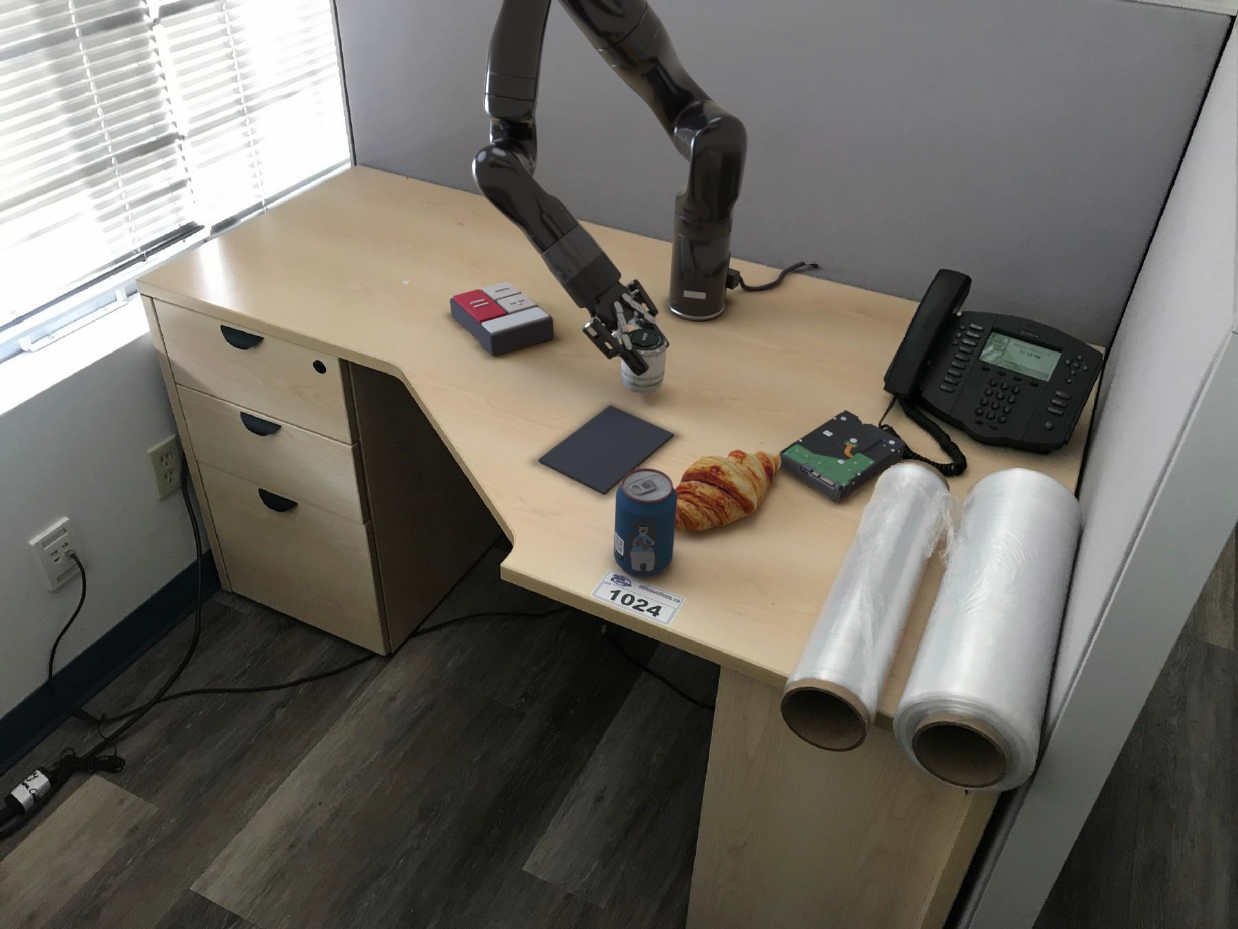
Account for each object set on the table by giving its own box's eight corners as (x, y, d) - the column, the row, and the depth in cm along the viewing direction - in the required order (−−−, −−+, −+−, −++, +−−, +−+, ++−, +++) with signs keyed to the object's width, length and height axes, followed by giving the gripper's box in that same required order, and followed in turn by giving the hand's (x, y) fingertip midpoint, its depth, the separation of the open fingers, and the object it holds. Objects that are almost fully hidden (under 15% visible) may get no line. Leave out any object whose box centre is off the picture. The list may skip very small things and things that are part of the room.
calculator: (508, 277, 163) (553, 313, 153) (510, 301, 166) (555, 338, 156) (448, 294, 159) (490, 332, 148) (450, 318, 161) (492, 356, 151)
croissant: (757, 478, 135) (742, 424, 133) (813, 483, 127) (799, 425, 125) (645, 546, 124) (628, 487, 121) (700, 555, 116) (682, 493, 113)
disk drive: (840, 424, 140) (775, 467, 132) (844, 408, 139) (778, 450, 130) (903, 458, 135) (838, 505, 126) (907, 441, 133) (842, 488, 124)
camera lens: (617, 392, 141) (619, 345, 136) (624, 368, 146) (625, 322, 141) (661, 397, 140) (664, 350, 135) (666, 372, 145) (669, 326, 140)
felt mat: (610, 407, 142) (610, 404, 142) (673, 435, 137) (673, 433, 137) (538, 461, 132) (538, 459, 131) (604, 494, 127) (604, 492, 126)
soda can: (653, 535, 121) (658, 458, 113) (682, 571, 116) (690, 493, 109) (603, 552, 118) (605, 475, 111) (631, 590, 114) (635, 511, 106)
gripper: (572, 274, 128) (650, 375, 132) (621, 231, 139) (693, 325, 142) (538, 301, 134) (614, 396, 137) (587, 257, 144) (657, 347, 147)
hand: (654, 360), depth 140 cm, fingers closed on camera lens, 6 cm apart
